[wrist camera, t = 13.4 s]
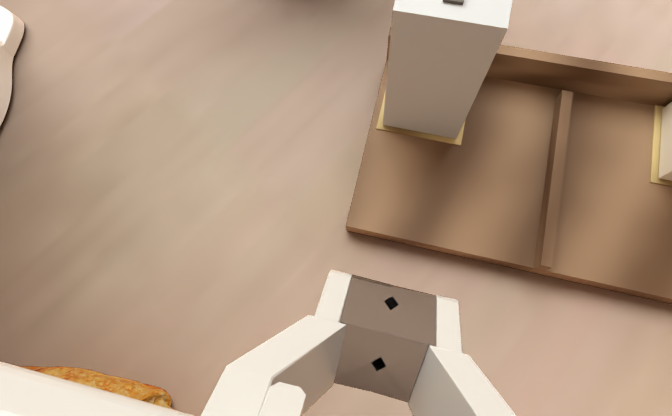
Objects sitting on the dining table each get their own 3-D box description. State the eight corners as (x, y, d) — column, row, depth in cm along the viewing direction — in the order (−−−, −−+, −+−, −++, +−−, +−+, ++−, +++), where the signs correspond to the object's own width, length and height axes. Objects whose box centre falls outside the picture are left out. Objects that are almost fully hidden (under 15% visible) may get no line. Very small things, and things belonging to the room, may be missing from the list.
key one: (382, 124, 27) (393, 7, 17) (398, 60, 28) (415, -84, 19) (456, 139, 27) (508, 26, 17) (468, 72, 28) (524, -69, 18)
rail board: (346, 230, 27) (343, 214, 24) (387, 62, 30) (390, 26, 27) (737, 318, 24) (799, 315, 21) (738, 123, 27) (792, 93, 24)
